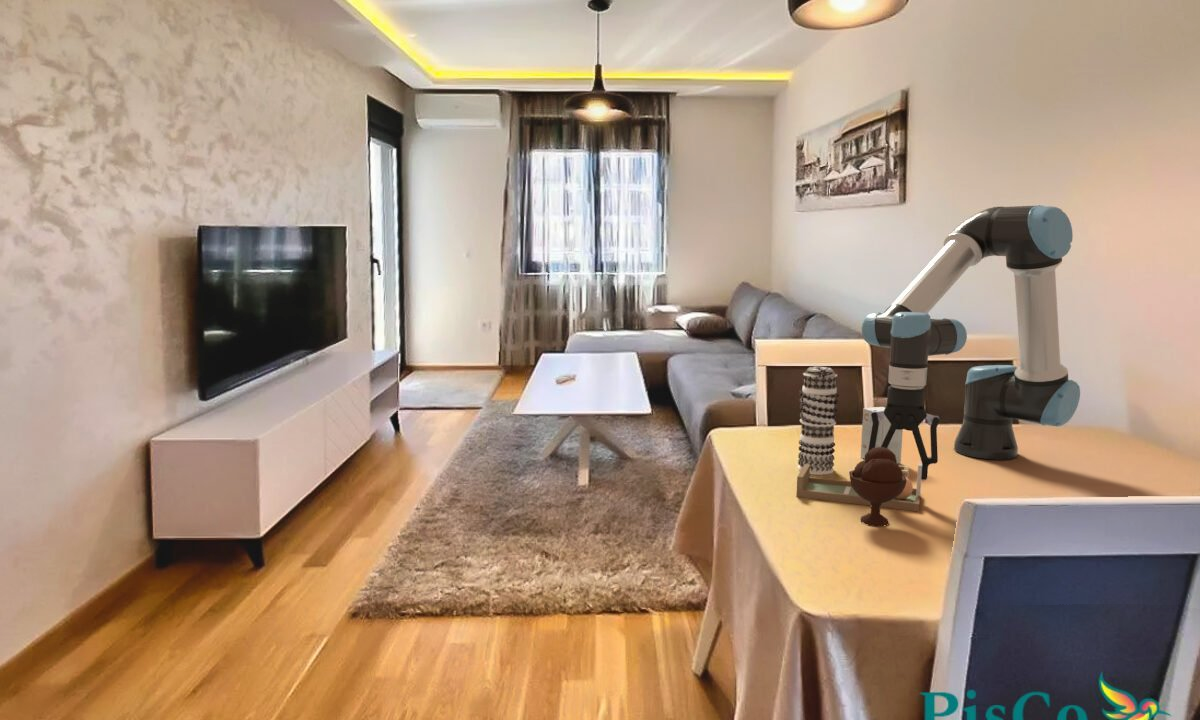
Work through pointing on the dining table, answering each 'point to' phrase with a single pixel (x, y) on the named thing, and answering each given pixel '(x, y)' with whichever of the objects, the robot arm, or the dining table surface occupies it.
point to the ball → (906, 490)
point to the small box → (879, 434)
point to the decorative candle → (818, 420)
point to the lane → (844, 492)
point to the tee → (904, 470)
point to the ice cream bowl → (877, 482)
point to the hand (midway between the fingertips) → (900, 491)
